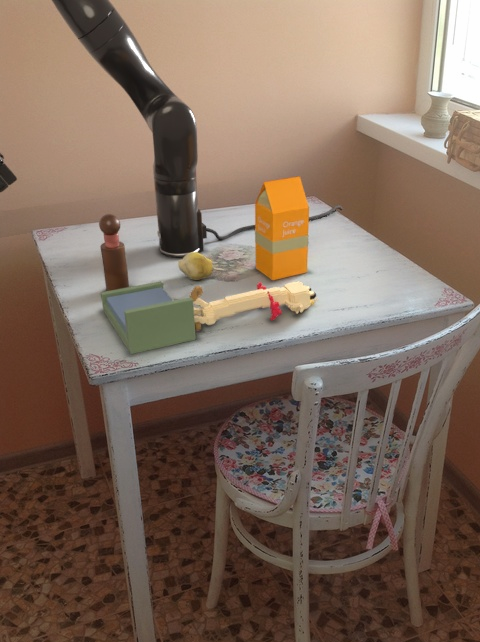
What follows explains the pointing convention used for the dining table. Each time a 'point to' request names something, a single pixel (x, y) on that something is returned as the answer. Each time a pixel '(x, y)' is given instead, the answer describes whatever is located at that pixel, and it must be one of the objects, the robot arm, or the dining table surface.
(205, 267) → the fruit
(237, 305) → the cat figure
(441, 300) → the dining table surface
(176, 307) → the bed
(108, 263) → the skittle
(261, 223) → the orange juice
